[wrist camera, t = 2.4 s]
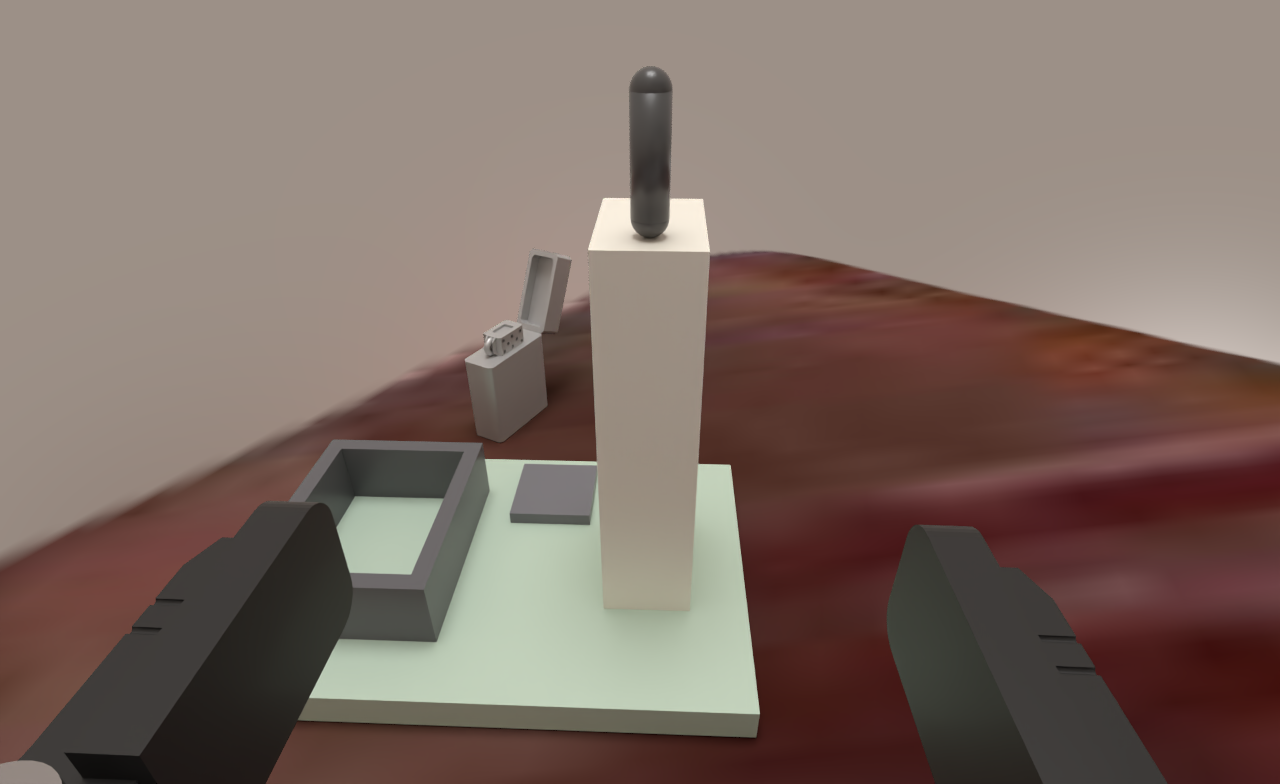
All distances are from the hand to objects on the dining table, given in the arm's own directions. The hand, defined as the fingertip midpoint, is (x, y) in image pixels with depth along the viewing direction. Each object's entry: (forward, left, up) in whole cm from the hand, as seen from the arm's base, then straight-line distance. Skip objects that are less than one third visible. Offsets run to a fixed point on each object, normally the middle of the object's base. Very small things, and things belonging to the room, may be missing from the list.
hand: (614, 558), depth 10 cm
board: (-2, -12, -13) cm, 18 cm away
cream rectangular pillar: (-7, -9, -12) cm, 16 cm away
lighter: (-9, -23, -13) cm, 28 cm away
